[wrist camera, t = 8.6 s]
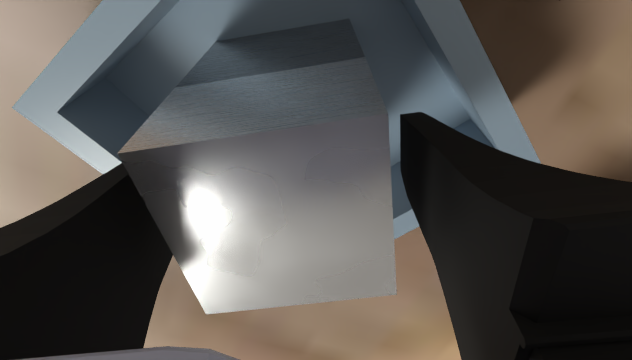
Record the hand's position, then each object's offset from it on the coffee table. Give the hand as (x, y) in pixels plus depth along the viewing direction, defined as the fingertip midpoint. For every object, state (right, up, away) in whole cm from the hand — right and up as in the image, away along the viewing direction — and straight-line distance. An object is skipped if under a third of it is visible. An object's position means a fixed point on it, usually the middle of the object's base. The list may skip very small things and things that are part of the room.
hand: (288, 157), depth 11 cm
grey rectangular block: (0, +3, +4) cm, 5 cm away
